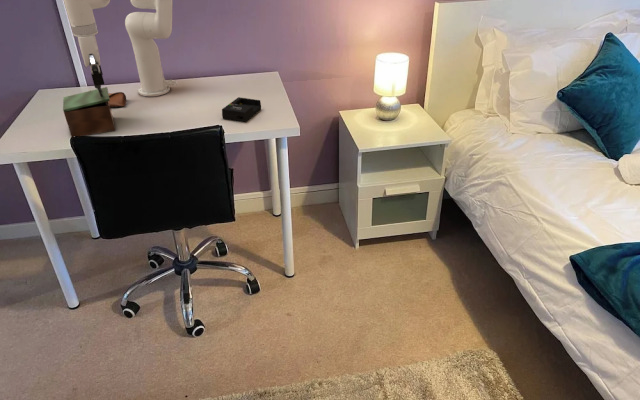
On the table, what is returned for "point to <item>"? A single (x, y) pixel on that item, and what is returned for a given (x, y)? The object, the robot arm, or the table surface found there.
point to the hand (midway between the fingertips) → (98, 80)
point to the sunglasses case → (117, 99)
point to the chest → (90, 119)
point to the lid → (86, 98)
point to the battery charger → (241, 109)
